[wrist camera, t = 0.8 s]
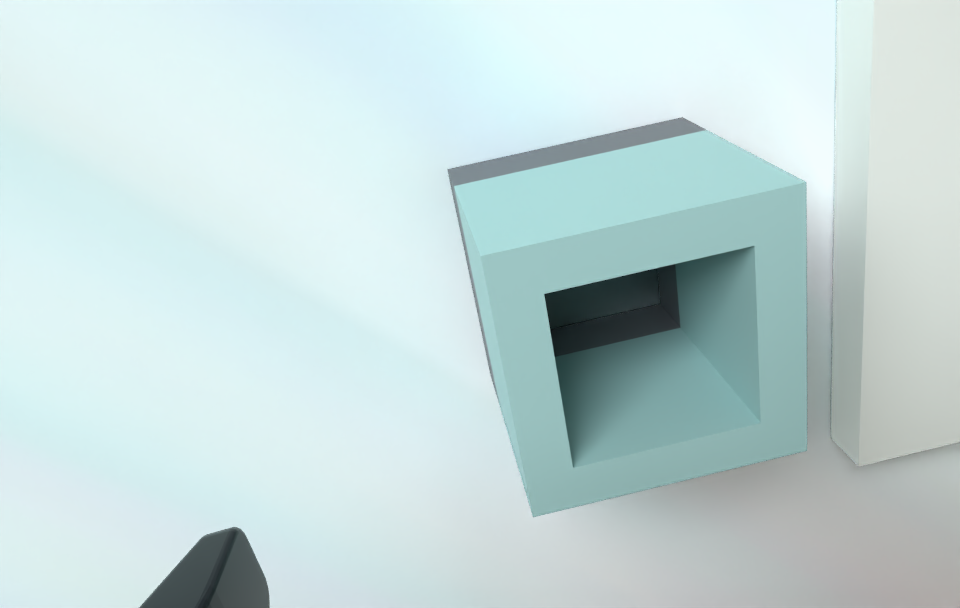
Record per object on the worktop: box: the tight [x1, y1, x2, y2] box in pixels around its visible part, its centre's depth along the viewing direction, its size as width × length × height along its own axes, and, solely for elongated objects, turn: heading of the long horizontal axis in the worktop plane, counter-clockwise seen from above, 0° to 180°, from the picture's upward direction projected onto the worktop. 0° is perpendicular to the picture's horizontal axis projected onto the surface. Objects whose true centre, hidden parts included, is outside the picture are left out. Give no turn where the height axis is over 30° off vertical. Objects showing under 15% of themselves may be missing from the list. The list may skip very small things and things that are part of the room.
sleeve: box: [447, 117, 807, 517], centre depth 18 cm, size 6×6×6 cm
